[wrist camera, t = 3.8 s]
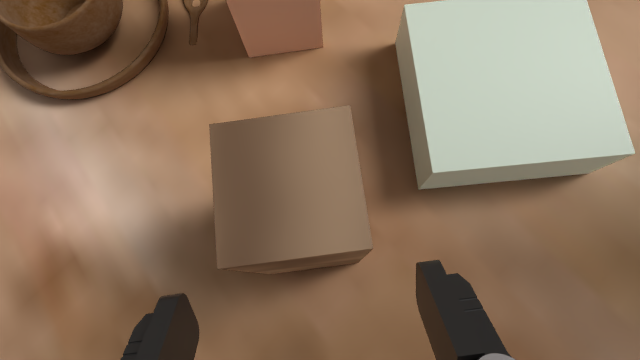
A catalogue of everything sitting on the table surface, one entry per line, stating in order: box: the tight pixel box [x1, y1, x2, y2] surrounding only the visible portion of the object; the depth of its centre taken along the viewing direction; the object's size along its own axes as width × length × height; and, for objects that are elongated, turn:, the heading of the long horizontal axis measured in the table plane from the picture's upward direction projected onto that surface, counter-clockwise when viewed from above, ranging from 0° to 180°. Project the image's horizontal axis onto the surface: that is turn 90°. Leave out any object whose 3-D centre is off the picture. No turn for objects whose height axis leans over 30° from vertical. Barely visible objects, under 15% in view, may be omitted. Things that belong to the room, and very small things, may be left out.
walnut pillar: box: [209, 105, 373, 274], centre depth 18 cm, size 5×5×10 cm
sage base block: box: [395, 0, 635, 190], centre depth 22 cm, size 10×10×4 cm
